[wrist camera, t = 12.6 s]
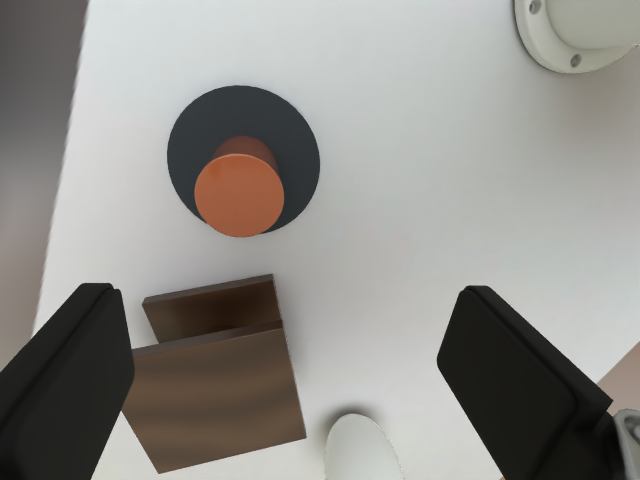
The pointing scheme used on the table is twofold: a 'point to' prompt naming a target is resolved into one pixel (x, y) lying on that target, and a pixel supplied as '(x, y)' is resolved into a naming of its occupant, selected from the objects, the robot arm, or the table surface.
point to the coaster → (250, 120)
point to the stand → (214, 376)
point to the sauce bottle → (360, 451)
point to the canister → (240, 188)
